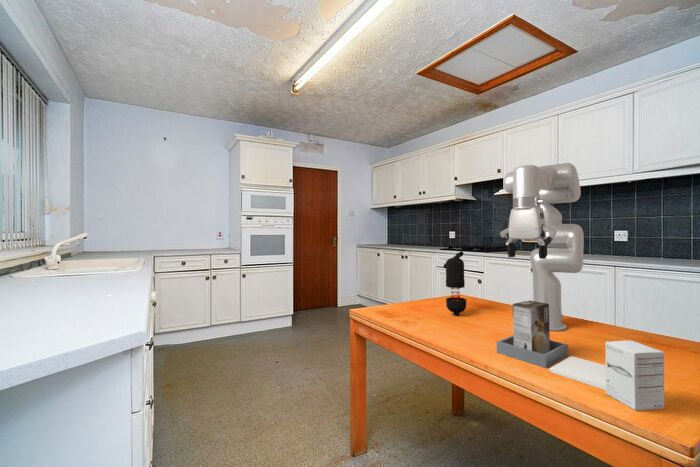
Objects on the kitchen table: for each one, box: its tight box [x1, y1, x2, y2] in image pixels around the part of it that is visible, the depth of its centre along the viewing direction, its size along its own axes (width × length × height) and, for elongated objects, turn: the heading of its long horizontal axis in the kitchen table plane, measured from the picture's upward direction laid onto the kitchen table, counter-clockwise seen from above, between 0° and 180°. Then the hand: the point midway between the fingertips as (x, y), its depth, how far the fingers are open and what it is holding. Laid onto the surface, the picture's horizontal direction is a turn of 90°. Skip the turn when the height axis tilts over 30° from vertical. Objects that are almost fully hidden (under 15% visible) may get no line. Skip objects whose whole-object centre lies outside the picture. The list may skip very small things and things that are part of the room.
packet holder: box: [496, 334, 569, 369], centre depth 99 cm, size 15×15×4 cm
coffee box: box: [512, 300, 551, 354], centre depth 99 cm, size 9×6×16 cm
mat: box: [549, 355, 606, 391], centre depth 85 cm, size 14×14×1 cm
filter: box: [443, 250, 467, 317], centre depth 147 cm, size 14×9×30 cm
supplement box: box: [605, 340, 665, 411], centre depth 72 cm, size 7×7×13 cm
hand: (526, 257), depth 101 cm, fingers open, 9 cm apart
